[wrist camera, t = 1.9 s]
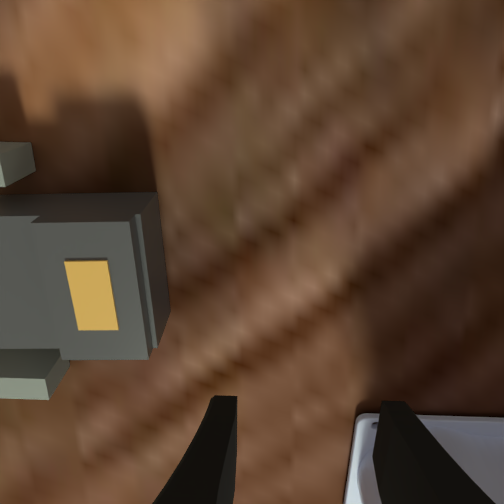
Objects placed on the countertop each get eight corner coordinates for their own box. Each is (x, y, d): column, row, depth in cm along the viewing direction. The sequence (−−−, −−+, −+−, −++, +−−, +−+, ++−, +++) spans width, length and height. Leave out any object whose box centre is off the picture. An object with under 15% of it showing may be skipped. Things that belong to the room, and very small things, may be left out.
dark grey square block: (158, 190, 20) (133, 222, 16) (171, 309, 22) (152, 361, 18) (1, 192, 20) (-60, 225, 16) (31, 310, 22) (-16, 362, 19)
